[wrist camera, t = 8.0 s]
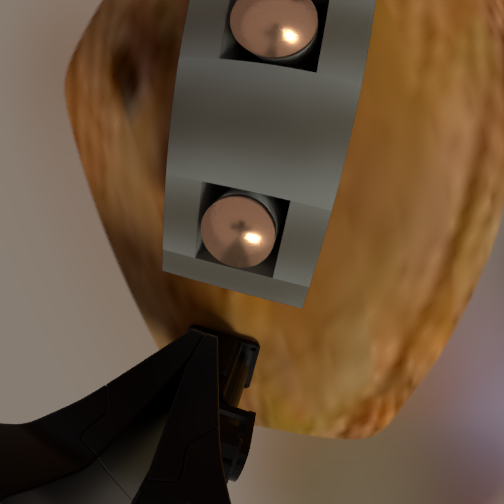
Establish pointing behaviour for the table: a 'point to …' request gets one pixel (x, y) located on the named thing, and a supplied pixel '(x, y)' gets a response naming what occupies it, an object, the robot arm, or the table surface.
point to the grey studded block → (260, 143)
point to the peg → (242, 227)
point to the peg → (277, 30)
